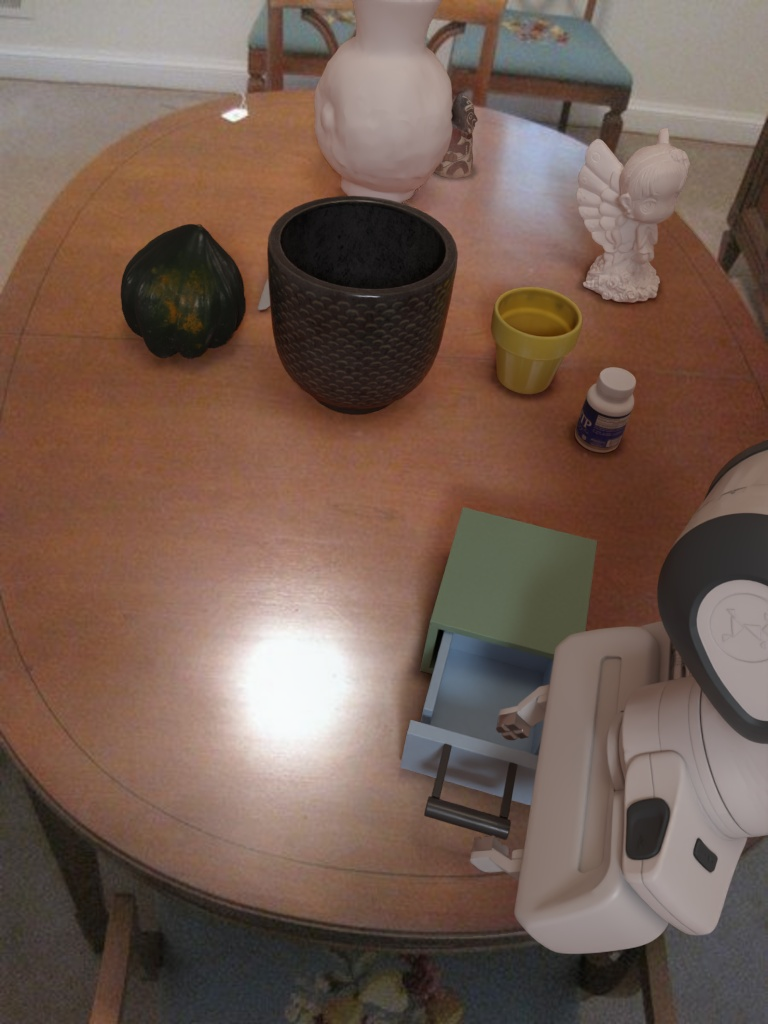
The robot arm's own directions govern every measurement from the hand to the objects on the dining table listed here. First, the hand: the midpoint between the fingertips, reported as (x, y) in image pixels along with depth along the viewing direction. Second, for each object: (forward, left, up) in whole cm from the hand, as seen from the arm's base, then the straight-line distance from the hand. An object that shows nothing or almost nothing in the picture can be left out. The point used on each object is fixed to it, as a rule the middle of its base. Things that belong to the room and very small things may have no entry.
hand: (490, 786), depth 57 cm
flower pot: (+5, -60, -12) cm, 61 cm away
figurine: (+25, -111, -12) cm, 114 cm away
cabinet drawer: (+1, -8, -11) cm, 13 cm away
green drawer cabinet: (+1, -22, -12) cm, 24 cm away
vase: (+34, -98, -12) cm, 104 cm away
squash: (+46, -53, -12) cm, 71 cm away
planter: (+24, -51, -12) cm, 57 cm away
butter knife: (+41, -73, -12) cm, 84 cm away
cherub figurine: (-4, -87, -12) cm, 87 cm away
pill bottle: (-5, -52, -12) cm, 53 cm away
